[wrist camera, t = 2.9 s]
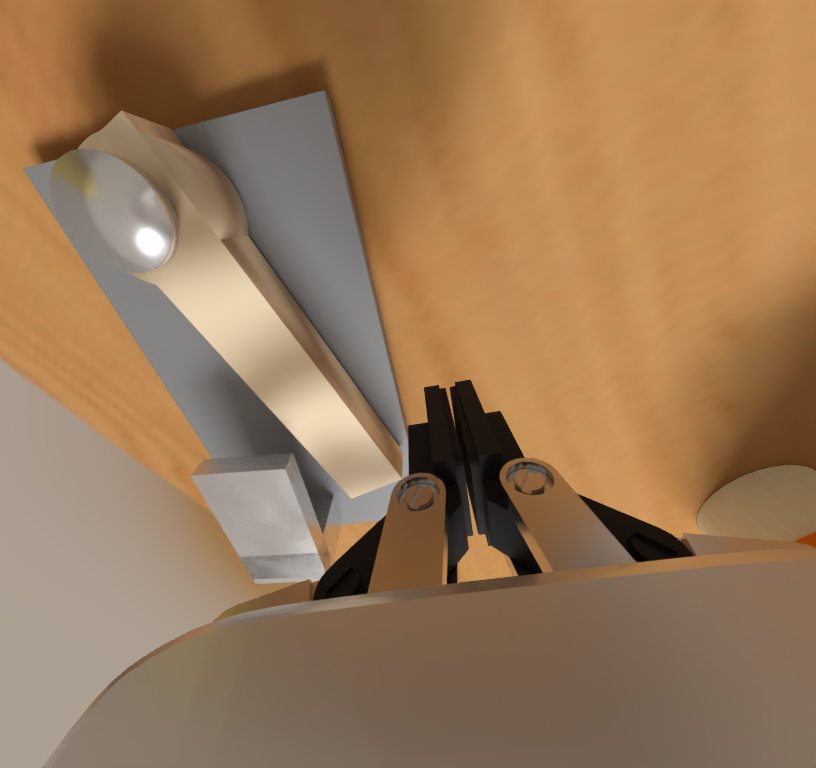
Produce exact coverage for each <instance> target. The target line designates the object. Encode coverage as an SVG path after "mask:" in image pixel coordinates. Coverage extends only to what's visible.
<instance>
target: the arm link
mask: <svg viewBox="0 0 816 768" xmlns="http://www.w3.org/2000/svg"><path fill="white" fill-rule="evenodd" d="M78 149H93V150H98V151H103V152H108V153H112V154H115V155H118V156H121V157H123V158H125V159H127V160H129V161H131V162H133V163H134V164H136V165H137V166H139V167H140V168H141V169H143V170H144V171H145V172H146V173H147V174H148V175H150V177H151V178H152V179H153V180H154V181H155V182H156V183H157V184H158V185H159V187H160V188H161V189H162V190H163V192H164V193H165V195H166V196H167V198H168V200H169V201H170V203H171V204H172V206H173V208H174V210H175V212H176V215H177V218H178V222H179V244H178V249H177V251H176V254H175V256H174V257H173V259H172V260H171V261H170V262H169V263H168V264H167V265H166V266H164V267H162V268H160V269H157V270H153V271H149V272H144V273H130V274H132V275H134V276H136V277H137V278H139V279H142V280H144V281H146V282H149V283H152V284H155V285H157V286H158V287H159V288H160V289H161V290H162V291H163V292H164V294H165V295H166V296H167V297H168V298H169V299H170V300H171V301H172V302H173V303H174V305H175V306H176V307H177V308H178V309H179V310H180V311H181V312H182V313H183V314H184V316H185V317H186V318H187V319H188V320H189V321H190V322H191V323H192V324H193V325H194V327H195V328H196V329H197V330H198V331H199V332H200V333H201V334H202V335H203V336H204V337H205V339H206V340H207V341H208V342H209V343H210V344H211V345H212V346H213V347H214V348H215V350H216V351H217V352H218V353H219V354H220V355H221V356H222V357H223V358H224V359H225V361H226V362H227V363H228V364H229V365H230V366H231V367H232V368H233V369H234V370H235V372H236V373H237V374H238V375H239V376H240V377H241V378H242V379H243V380H244V381H245V382H246V384H247V385H248V386H249V387H250V388H251V389H252V390H253V391H254V392H255V393H256V395H257V396H258V397H259V398H260V399H261V400H262V401H263V402H264V403H265V404H266V406H267V407H268V408H269V409H270V410H271V411H272V412H273V413H274V414H275V415H276V417H277V418H278V419H279V420H280V421H281V422H282V423H283V424H284V425H285V426H286V428H287V429H288V430H289V431H290V432H291V433H292V434H293V435H294V436H295V437H296V438H297V440H298V441H299V442H300V443H301V444H302V445H303V446H304V447H305V448H306V449H307V451H308V452H309V453H310V454H311V455H312V456H313V457H314V458H315V459H316V460H317V462H318V463H319V464H320V465H321V466H322V467H323V468H324V469H325V470H326V471H327V473H328V474H329V475H330V476H331V477H332V478H333V479H334V480H335V481H336V482H337V483H338V485H339V486H340V487H341V488H342V489H343V490H344V491H345V492H346V493H347V494H348V496H349V497H350V498H351V499H352V498H355V497H357V496H360V495H362V494H365V493H367V492H370V491H373V490H375V489H378V488H380V487H383V486H385V485H388V484H390V483H393V482H395V481H398V480H401V479H402V466H403V451H402V449H401V448H400V447H399V445H398V444H397V443H396V441H395V440H394V438H393V437H392V436H391V434H390V433H389V431H388V430H387V429H386V427H385V426H384V424H383V423H382V422H381V420H380V419H379V417H378V416H377V415H376V413H375V412H374V410H373V409H372V408H371V406H370V405H369V403H368V402H367V401H366V399H365V398H364V397H363V395H362V394H361V392H360V391H359V390H358V388H357V387H356V385H355V384H354V383H353V381H352V380H351V378H350V377H349V376H348V374H347V373H346V371H345V370H344V369H343V367H342V366H341V364H340V363H339V362H338V360H337V359H336V357H335V356H334V355H333V353H332V352H331V351H330V349H329V348H328V346H327V345H326V344H325V342H324V341H323V339H322V338H321V337H320V335H319V334H318V332H317V331H316V330H315V328H314V327H313V325H312V324H311V323H310V321H309V320H308V318H307V317H306V316H305V314H304V313H303V311H302V310H301V309H300V307H299V306H298V305H297V303H296V302H295V300H294V299H293V298H292V296H291V295H290V293H289V292H288V291H287V289H286V288H285V286H284V285H283V284H282V282H281V281H280V279H279V278H278V277H277V275H276V274H275V272H274V271H273V270H272V268H271V267H270V265H269V264H268V263H267V261H266V260H265V259H264V257H263V256H262V254H261V253H260V252H259V250H258V249H257V247H256V246H255V245H254V243H253V242H252V240H251V239H250V238H249V236H248V222H247V216H246V213H245V209H244V206H243V204H242V201H241V199H240V197H239V195H238V193H237V191H236V189H235V188H234V186H233V184H232V183H231V182H230V180H229V179H228V178H227V176H226V175H225V174H224V173H223V172H222V171H221V170H220V169H219V168H218V167H217V166H216V165H215V164H214V163H213V162H212V161H210V160H209V159H208V158H206V157H205V156H203V155H202V154H200V153H198V152H196V151H195V150H192V149H190V148H188V147H185V146H183V144H182V143H181V141H180V140H179V139H178V137H177V136H176V134H175V133H174V132H173V130H172V129H170V128H168V127H165V126H162V125H160V124H157V123H154V122H151V121H149V120H146V119H143V118H141V117H138V116H135V115H132V114H130V113H127V112H124V111H122V110H121V111H120V112H119V113H118V114H117V115H116V116H115V117H114V118H113V119H112V120H111V121H110V122H109V123H108V124H107V125H106V126H105V127H104V128H103V129H102V130H101V131H98V132H96V133H94V134H92V135H90V136H89V137H88V138H87V139H85V140H84V141H83V142H82V144H81V145H80V146H79V147H78Z"/></svg>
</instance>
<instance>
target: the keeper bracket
mask: <svg viewBox="0 0 816 768" xmlns="http://www.w3.org/2000/svg"><path fill="white" fill-rule="evenodd" d="M191 477H192V479H193V481H194V482H195V484H196V486H197V487H198V489H199V491H200V492H201V494H202V496H203V497H204V499H205V501H206V502H207V504H208V505H209V507H210V509H211V510H212V512H213V514H214V515H215V517H216V519H217V520H218V522H219V524H220V525H221V527H222V529H223V530H224V532H225V534H226V535H227V537H228V538H229V540H230V542H231V543H232V545H233V547H234V548H235V550H236V552H237V553H238V555H239V557H240V558H241V560H242V561H243V563H244V565H245V567H246V568H247V570H248V571H249V573H250V575H251V576H252V578H253V579H254V581H255V583H256V584H261V583H280V582H301V581H305V580H308V579H310V580H311V581H319V580H320V578H321V577H322V576H323V574H324V573H325V572H326V571H327V570H328V569H329V568H330V567H331V566H332V564H333V560H334V555H335V551H336V546H337V542H338V537H339V533H340V528H341V524H342V521H341V517H340V514H339V511H338V508H337V504H336V501H335V498H334V495H333V496H317V497H309V495H308V493H307V490H306V487H305V484H304V482H303V479H302V476H301V473H300V471H299V468H298V465H297V462H296V460H295V457H294V454H293V453H285V454H271V455H257V456H243V457H229V458H216V459H204V460H203V461H202V463H201V464H200V465H199V466H198V467H197V468H196V470H195V471H194V472H193V473H192V474H191Z"/></svg>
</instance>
